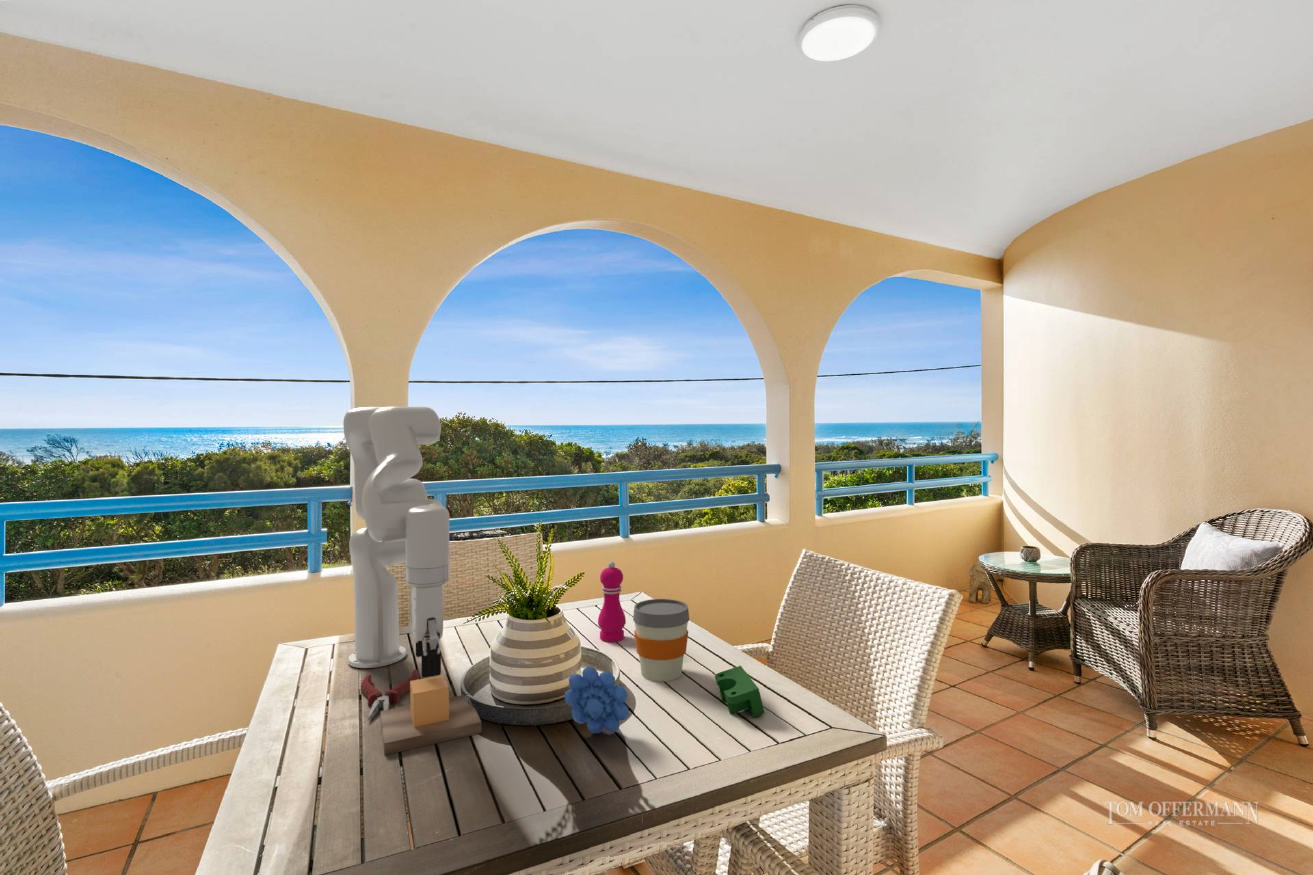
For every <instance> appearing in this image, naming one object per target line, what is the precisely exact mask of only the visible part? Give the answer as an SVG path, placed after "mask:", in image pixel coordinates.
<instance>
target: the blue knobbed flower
mask: <svg viewBox="0 0 1313 875" xmlns="http://www.w3.org/2000/svg"><path fill="white" fill-rule="evenodd" d="M581 674H582V675H581ZM581 674H579V673H574V674H572V675H569V678H568V686H569V687H570V689H568V690H566V691H565V693H564V701H565V703H566V704H567V705H568V706H569V707H571V708H572V710H571V716H572V717H571V718H572V719H573V720H574V721H575V723H577V724H579V725H580V724H581V725H583V724H585V723H586V726H587V729H588V730H589V732H590V733H593V734H594V735H595V734H600V733H601V732H603V729H605V730H606V731H607V732H609V733H616V732H617V731H618V730H619V728H620V721H625V720H627V719H628V717H629V715H630V711H629V707H628V706H627V704H625V702H626V701H627V699H628V691H627V690H626V688H624V686H622V685H620V684H619V685H618V684H617V685H616V678H615V676H614V674H613V673H611V672H610V671H606V670H604V671H602V672H600V673H599V672H598V671H597V669H596V668H594V667H593V666H587V667H585V668H583V669H582V672H581Z"/></svg>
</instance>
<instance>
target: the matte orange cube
mask: <svg viewBox="0 0 1313 875" xmlns="http://www.w3.org/2000/svg"><path fill="white" fill-rule="evenodd" d="M449 688H450V686H449V684H448V681H447V680H446V677H445V675H444V674H440V675H437V676H431V677H426V678H419V680H414V681H410V691H409V692H410V693H409V695H410V698H409V700H410V704H409V706H410V707H411V717H412V721H413V726H414V727H417V726H422V725H427V724H431V723H436V722H441V721H445V720H449V698H450V689H449Z"/></svg>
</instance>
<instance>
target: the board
mask: <svg viewBox="0 0 1313 875" xmlns="http://www.w3.org/2000/svg"><path fill="white" fill-rule="evenodd" d="M464 695H465V694H462V695H461V694H460V695H456V696H452V697H450V696H449V720H445V721H441V722H436V723H431V724H427V725H422V726H417V727H414V726H413V721H412V717H411V707H410V705H405V706H400V707H396V708H391V709H390V708H389V710H384V711H383V710H380V714H379V716H380V730H381V737H382V745H383V754H384V756H387V755H391V754H396V753H399V752H404V751H409V750H414V749H419V748H421V747H425V746H431V745H434V744H440V743H443V742H448V741H452V740H456V739H461V738H465V737H470V736H474V735H477V734H478V735H479V734H482V720H481V718H480V716H479V714H478V711H477V710H476V708H474V707H475V706H474V707H472V706H470V705H469V704H468V703H467V702H466V698H465V696H464ZM466 695H469V696H470V694H469V693H466Z"/></svg>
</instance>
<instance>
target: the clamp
mask: <svg viewBox="0 0 1313 875" xmlns="http://www.w3.org/2000/svg"><path fill="white" fill-rule="evenodd" d="M714 679H715V684H716V685H717V687H718V689H719V690H718V691H719V694H720V697H721V702H722V703H723V704H724V703H726V705H727V709H728V712H729V714H730V715H733V714H737V713H739V712H743V711H746V710H748V711H749V713H750V714H751V716H752V717H753V718H756V717H759V716H761V715H764V714H765V709H764V705H763V701H762V697H761V693H760V689H759V687H758V685H757V684H756V683H755V682H754V680H752V678H751V677H750V676H749V674H748V673H747V672H746V670H745V669H744V668H743V666H742V665H738V666H735V667H732V668H729V669H726V670H723V671H721V672H720V671H719V672H718V673H716V674H715V675H714Z"/></svg>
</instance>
